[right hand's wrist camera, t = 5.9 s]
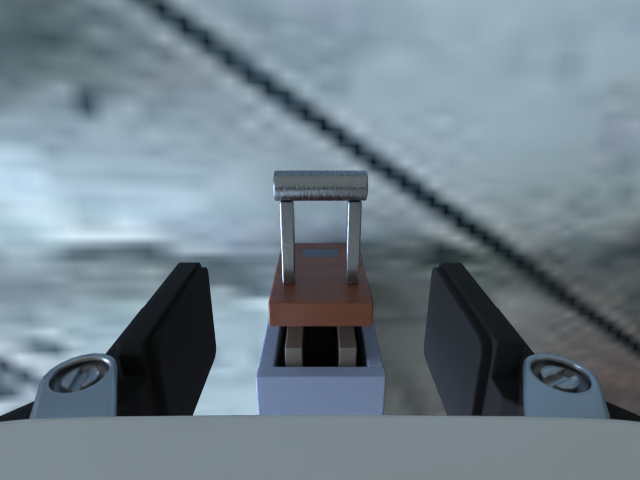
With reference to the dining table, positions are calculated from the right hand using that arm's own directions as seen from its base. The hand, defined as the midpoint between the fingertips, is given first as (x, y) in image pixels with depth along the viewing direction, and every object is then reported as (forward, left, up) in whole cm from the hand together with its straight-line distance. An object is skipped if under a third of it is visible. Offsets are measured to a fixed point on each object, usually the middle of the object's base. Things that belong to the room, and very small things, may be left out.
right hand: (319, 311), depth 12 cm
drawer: (+8, 0, -12) cm, 15 cm away
